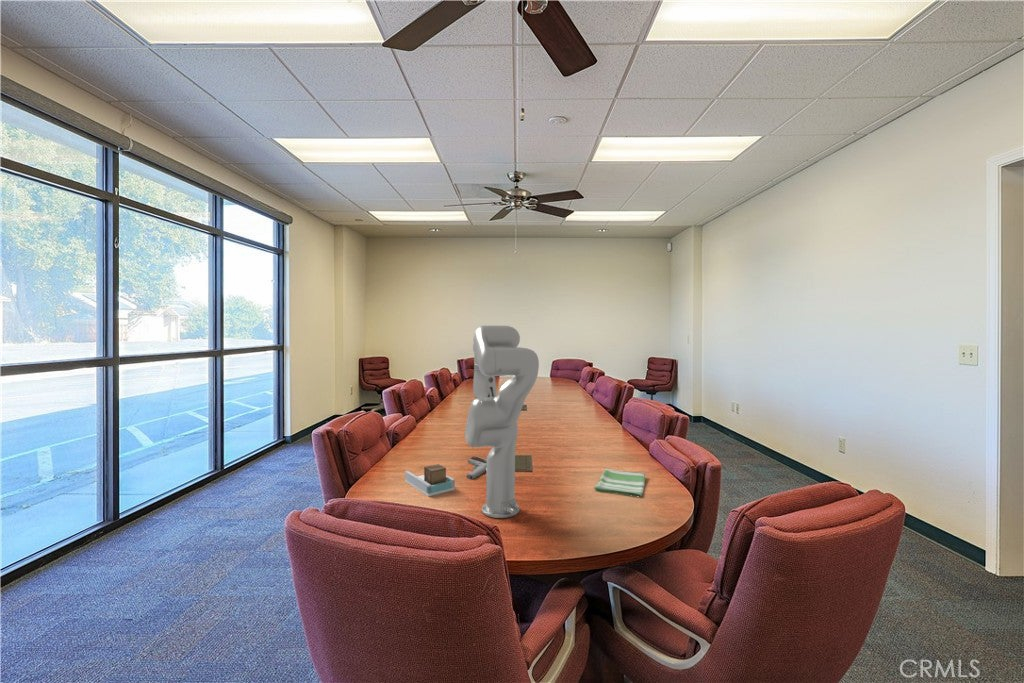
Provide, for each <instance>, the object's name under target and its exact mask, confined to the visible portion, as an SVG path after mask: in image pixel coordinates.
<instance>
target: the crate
mask: <svg viewBox="0 0 1024 683" xmlns="http://www.w3.org/2000/svg"><path fill="white" fill-rule="evenodd" d="M423 470H424V471H423V475H424V481H426V482H427V483H429V484H431V485H435V484H439V483H443V482H446V475H447V468H446V467H445V466H443V465H441V464H439V463H438V464H437V463H436V464H431V465H427V466H424V467H423Z"/></svg>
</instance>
